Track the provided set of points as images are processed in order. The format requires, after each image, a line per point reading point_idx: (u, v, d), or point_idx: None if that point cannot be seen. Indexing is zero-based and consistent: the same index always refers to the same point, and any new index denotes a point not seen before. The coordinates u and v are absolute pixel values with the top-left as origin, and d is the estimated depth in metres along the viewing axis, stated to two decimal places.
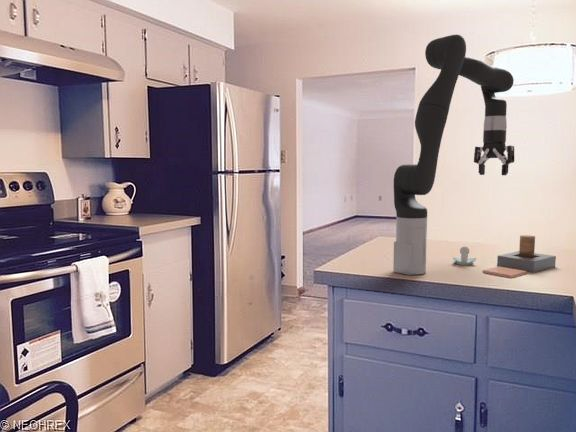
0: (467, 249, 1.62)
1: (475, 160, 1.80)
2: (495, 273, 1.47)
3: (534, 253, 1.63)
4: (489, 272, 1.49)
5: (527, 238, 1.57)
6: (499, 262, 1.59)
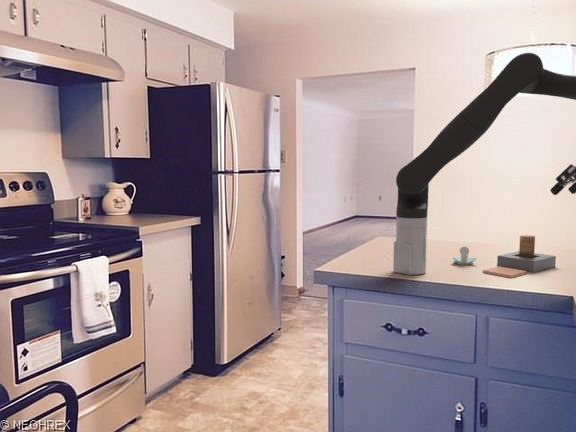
0: (467, 249, 1.62)
1: None
2: (495, 273, 1.47)
3: (534, 253, 1.63)
4: (489, 272, 1.49)
5: (527, 238, 1.57)
6: (499, 262, 1.59)
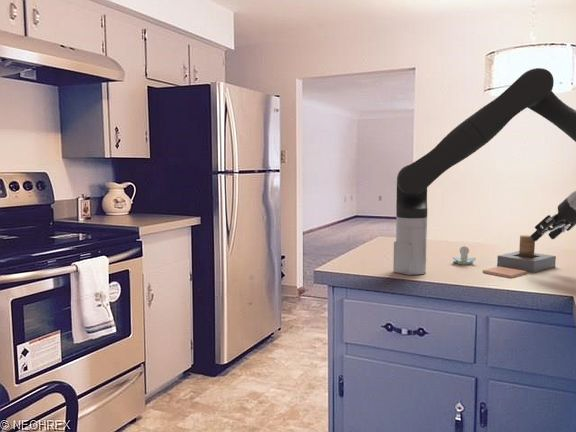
0: (467, 249, 1.63)
1: None
2: (495, 273, 1.47)
3: (534, 253, 1.63)
4: (489, 272, 1.49)
5: (527, 238, 1.57)
6: (499, 262, 1.59)
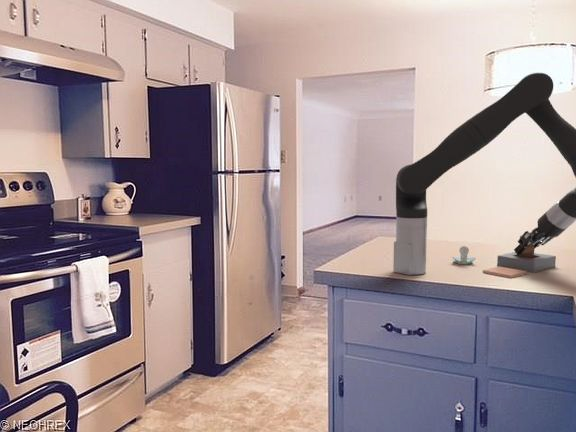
0: (466, 248, 1.63)
1: None
2: (495, 273, 1.47)
3: (534, 253, 1.63)
4: (489, 272, 1.49)
5: None
6: (499, 262, 1.59)
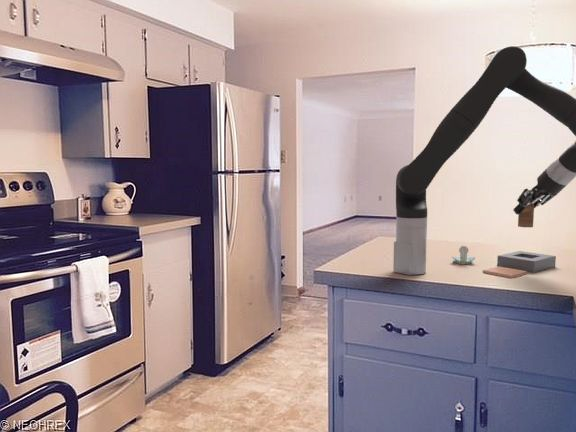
0: (466, 248, 1.63)
1: None
2: (495, 273, 1.47)
3: (534, 253, 1.63)
4: (489, 272, 1.49)
5: None
6: (499, 262, 1.59)
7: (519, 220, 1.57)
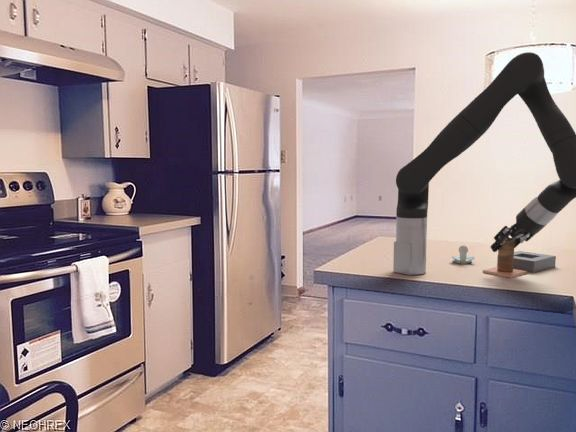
0: (466, 248, 1.64)
1: None
2: (495, 273, 1.47)
3: (534, 253, 1.63)
4: (489, 272, 1.49)
5: None
6: None
7: (498, 264, 1.49)
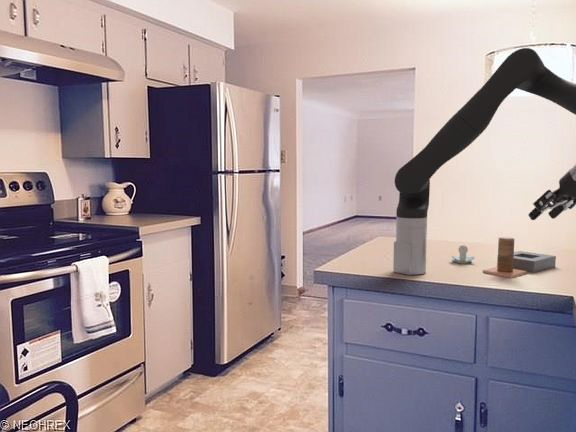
0: (465, 248, 1.65)
1: None
2: (495, 273, 1.47)
3: (534, 253, 1.63)
4: (489, 272, 1.49)
5: (506, 240, 1.47)
6: None
7: (498, 264, 1.49)
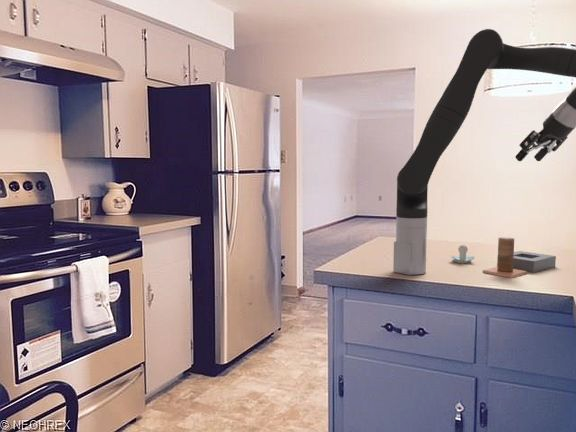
0: (465, 247, 1.65)
1: None
2: (495, 273, 1.47)
3: (534, 253, 1.63)
4: (489, 272, 1.49)
5: (506, 240, 1.47)
6: None
7: (498, 264, 1.49)
